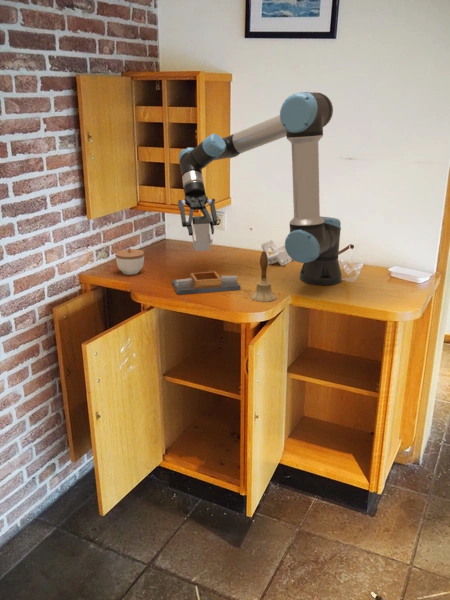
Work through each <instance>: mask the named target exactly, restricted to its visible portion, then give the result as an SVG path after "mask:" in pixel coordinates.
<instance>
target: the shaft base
mask: <svg viewBox="0 0 450 600" xmlns="http://www.w3.org/2000/svg"><path fill="white" fill-rule="evenodd" d="M171 281H172V283H171V284H172V286H173V288H174V290H175V292H176V294H177V295H178V296H179V295H181V296H182V295H192V294H193V295H194V294H204V293H205V294H206V293H217V292H218V293H219V292H230V291H231V292H232V291H241V284H240V283H239V282H238V276H237V275H221V276H220V275H219V274H218V272H217V271H205V272H204V271H203V272H202V271H201V272H190V277H189V278H179V279H172V280H171Z"/></svg>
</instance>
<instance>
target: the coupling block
mask: <svg viewBox="0 0 450 600" xmlns="http://www.w3.org/2000/svg"><path fill="white" fill-rule="evenodd" d="M192 225H194V229H195V235H196V245H193V244H192V248H193V249H194V251H195V252H200V251H201V252H202V251H210V249H211V248H210V247H211V246H210V245H211V244H210V242H209V218H208V217H207V216H204V215H203V216H193V217H192Z"/></svg>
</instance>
